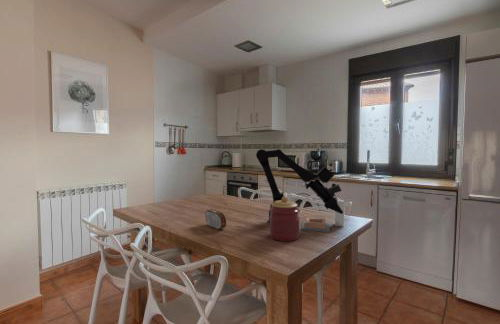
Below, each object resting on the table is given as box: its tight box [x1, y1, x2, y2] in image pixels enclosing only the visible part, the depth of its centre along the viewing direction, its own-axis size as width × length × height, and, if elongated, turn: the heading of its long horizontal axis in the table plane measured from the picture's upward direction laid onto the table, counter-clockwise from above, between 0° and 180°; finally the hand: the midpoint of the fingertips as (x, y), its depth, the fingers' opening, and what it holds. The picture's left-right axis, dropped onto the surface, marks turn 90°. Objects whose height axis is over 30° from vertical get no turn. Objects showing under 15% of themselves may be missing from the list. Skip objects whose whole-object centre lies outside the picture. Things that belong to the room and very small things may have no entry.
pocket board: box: [300, 217, 331, 233], centre depth 129 cm, size 13×13×3 cm
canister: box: [269, 195, 301, 242], centre depth 114 cm, size 13×13×18 cm
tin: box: [204, 208, 227, 231], centre depth 128 cm, size 15×3×8 cm, turn 41°
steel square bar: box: [334, 199, 345, 227], centre depth 132 cm, size 4×4×12 cm
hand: (342, 212), depth 132 cm, fingers closed on steel square bar, 4 cm apart
